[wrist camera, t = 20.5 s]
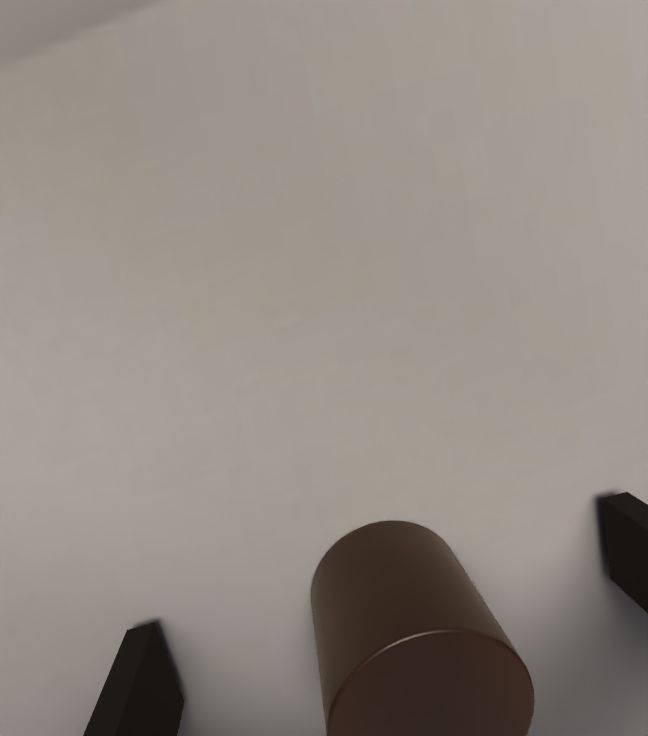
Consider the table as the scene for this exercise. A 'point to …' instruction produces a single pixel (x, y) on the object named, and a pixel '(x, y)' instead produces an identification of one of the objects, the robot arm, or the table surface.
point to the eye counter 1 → (411, 642)
